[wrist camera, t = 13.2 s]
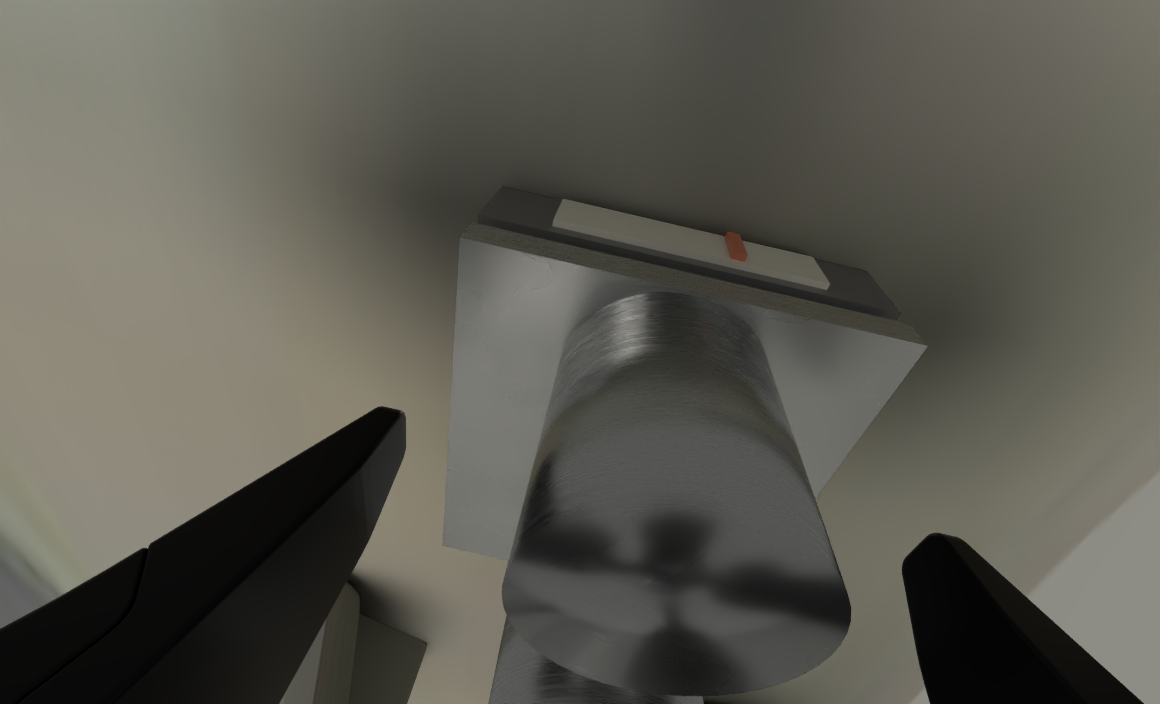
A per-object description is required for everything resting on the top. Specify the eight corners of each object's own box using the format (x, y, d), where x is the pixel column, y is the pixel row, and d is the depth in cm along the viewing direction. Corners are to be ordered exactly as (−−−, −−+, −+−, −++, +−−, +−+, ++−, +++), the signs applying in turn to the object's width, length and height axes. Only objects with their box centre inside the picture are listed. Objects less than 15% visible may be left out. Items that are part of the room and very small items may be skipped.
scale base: (720, 520, 18) (727, 572, 16) (473, 464, 18) (455, 511, 16) (874, 259, 12) (909, 300, 10) (503, 172, 12) (480, 199, 10)
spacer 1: (724, 473, 12) (764, 718, 8) (544, 434, 12) (489, 660, 8) (806, 320, 9) (930, 561, 5) (578, 269, 9) (522, 472, 5)
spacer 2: (675, 590, 15) (694, 812, 11) (528, 579, 15) (491, 791, 11) (694, 488, 12) (729, 725, 8) (519, 478, 13) (466, 701, 8)
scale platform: (729, 585, 16) (732, 610, 15) (451, 523, 16) (442, 545, 15) (909, 323, 10) (928, 346, 9) (472, 222, 10) (459, 237, 9)
